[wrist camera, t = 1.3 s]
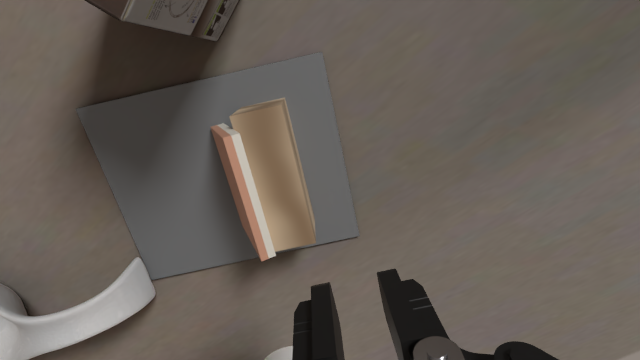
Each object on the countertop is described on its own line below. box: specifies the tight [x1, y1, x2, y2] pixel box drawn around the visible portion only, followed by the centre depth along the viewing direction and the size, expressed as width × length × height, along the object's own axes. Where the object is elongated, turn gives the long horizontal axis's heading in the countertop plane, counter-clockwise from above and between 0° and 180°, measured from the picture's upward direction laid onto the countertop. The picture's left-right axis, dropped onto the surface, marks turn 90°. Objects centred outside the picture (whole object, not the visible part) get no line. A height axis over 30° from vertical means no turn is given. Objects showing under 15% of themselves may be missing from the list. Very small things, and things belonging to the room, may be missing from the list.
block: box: [229, 98, 316, 252], centre depth 31 cm, size 4×12×5 cm, turn 12°
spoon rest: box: [0, 257, 156, 360], centre depth 34 cm, size 24×12×7 cm, turn 103°
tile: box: [211, 123, 276, 261], centre depth 30 cm, size 4×10×8 cm, turn 12°
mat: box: [76, 52, 359, 280], centre depth 34 cm, size 22×18×1 cm
